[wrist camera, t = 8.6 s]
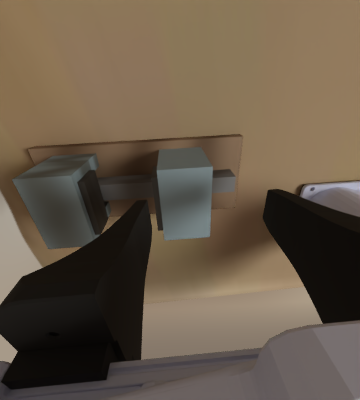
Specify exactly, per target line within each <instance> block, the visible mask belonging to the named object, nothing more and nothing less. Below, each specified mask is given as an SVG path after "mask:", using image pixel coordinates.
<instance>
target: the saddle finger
mask: <svg viewBox="0 0 360 400" xmlns="http://www.w3.org/2000/svg"><path fill="white" fill-rule="evenodd" d="M212 174H213V166H212V165H211V163H210V161H209V160H208V158H207V156H206V155H205V153H204V151H203V150H202V148H201V147H194V148H178V149H162V150H159V155H158V163H157V166H153V171H152V177H151V179H152V187H153V195H154V202H155V210H156V218H157V225H158V230H163V231H164V240H177V239H190V238H203V237H210V223H211V198H212Z"/></svg>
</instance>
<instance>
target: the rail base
mask: <svg viewBox="0 0 360 400" xmlns="http://www.w3.org/2000/svg"><path fill="white" fill-rule="evenodd" d="M242 142H243V136H242V135H240V134H237V135H220V136H203V137H186V138H170V139H153V140H136V141H119V142H102V143H85V144H69V145H52V146H35V147H32V148H30V149H28V151H29V153H30V156H31V158H32V160H33V162H34V165H35V167H33V168H31V169H29V170H28V171H26V172H24V173H22V174H21V175H19V176H17V177H15V178H14V179H12V181H13V183H14V184H15V186H16V188H17V190H18V192H19V194H20V196H21V198H22V200H23V202H24V203H25V205H26V207H27V209H28V211H29V213H30V215H31V217H32V219H33V221H34V223H35V224H36V226H37V228H38V230H39V232H40V234H41V236H42V238H43V240H44V242H45V244H46V245H47V247H48V249H56V248H70V247H83V246H85V245H86V244H88V243H90V242H91V241H93V240H94V239H96V238H97V237H98V236H100V235H101V233H102V231H103V229H104V227H105V225H106V222H107V220H108V217H113V216H123V215H124V214H125V213H126V211H127V210H128V209H129V208H130V207H131V206H132V205H133V204H134V203H135V202H136V201H137V200H148V206H149V213H150V214H155V213H156V210H155V202H154V195H153V187H152V179H151V177H152V171H153V166H157V163H158V155H159V150H162V149H178V148H194V147H201V148H202V150H203V151H204V153H205V155H206V156H207V158H208V160H209V161H210V163H211V165H212V166H213V174H212V198H211V209H225V208H235V202H236V194H237V185H238V176H239V168H240V159H241V150H242Z"/></svg>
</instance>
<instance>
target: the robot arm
mask: <svg viewBox="0 0 360 400" xmlns="http://www.w3.org/2000/svg"><path fill="white" fill-rule="evenodd" d="M311 188H312V189H311ZM310 189H311V190H310ZM263 220H264V222H265V224H266V226H267V228H268V230H269V232H270V233H271V235H272V236H273V238H274V239H275V241H276V242H277V244H278V245H279V246H280V248H281V249H282V251H283V252H284V253H285V255H286V256H287V258H288V259H289V260H290V262H291V264H292V265H293V267H294V268H295V270H296V272H297V273H298V275H299V277H300V279H301V281H302V282H303V284H304V286H305V288H306V290H307V292H308V294H309V296H310V298H311V300H312V302H313V304H314V306H315V308H316V310H317V312H318V314H319V316H320V318H321V321H322V323H323V324H317V325H307V326H303V327H299V328H294V329H290V330H286V331H284V332H282V333H280V334H278V335H276V336H274V337H272V338H271V339H269V340H268V341H267V343H266V344H265V345H264V346H263V347H262V348H256V349H245V350H235V351H225V352H215V353H205V354H195V355H185V356H175V357H166V358H156V359H146V360H141V345H142V344H141V343H142V320H143V302H144V286H145V276H146V270H147V264H148V259H149V253H150V247H151V239H152V225H151V219H150V213H149V206H148V200H137V201H136V202H135V203H134V204H133V205H132V206H131V207H130V208H129V209H128V210H127V211H126V213H125V214H124V215H123V216H122V217H121V218H120V219H118V220H117V221H116V222H115V223H114V224H113V225H112V226H111V227H110V228H109V229H107V230H106V231H105V232H104V233H102V234H101V235H100V236H98V237H97V238H96V239H94V240H93V241H91V242H90V243H88V244H86V245H85V246H83V247H82V248H80V249H79V250H77V251H75V252H73V253H72V254H70V255H68V256H66V257H64V258H62V259H60V260H58V261H56V262H54V263H52V264H50V265H48V266H46V267H44V268H41V269H39V270H37V271H35V272H32V273H30V274H28V275H26V276H23V277H22V278H21V279H20V280H19V281H18V283H17V284H16V285H15V287H14V288H13V289H12V290H11V292H10V293H9V294H8V296H7V297H6V298H5V299H4V301H3V302H2V303H1V305H0V334H1V335H2V336H3V337H4V338H5V339H6V340H7V341H8V342H9V343H10V344H11V345H12V346H13V347H14V348H15V349H16V350H17V351H18V352H17V354H16V356H15V358H14V360H13V361H12V363H9V362H5V361H0V400H360V181H350V182H336V183H321V184H307V185H305V186H303V188H302V190H301V193H300V196H297V195H295V194H292V193H289V192H286V191H283V190H280V189H273V190H268V193H267V198H266V203H265V208H264V213H263Z"/></svg>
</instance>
